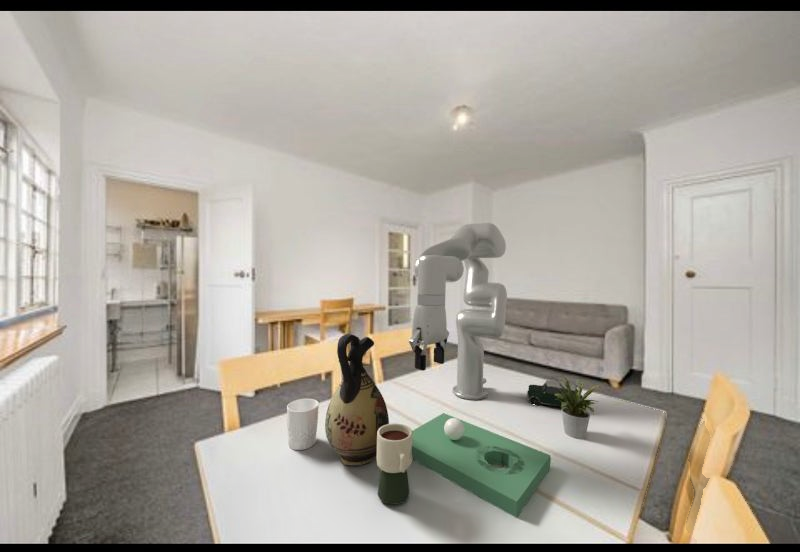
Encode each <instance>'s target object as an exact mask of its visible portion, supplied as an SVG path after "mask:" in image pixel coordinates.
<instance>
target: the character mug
mask: <svg viewBox="0 0 800 552" xmlns="http://www.w3.org/2000/svg"><path fill="white" fill-rule="evenodd" d="M412 431H413V430H412V429H411V428H410V427H409V426H407V425H405V424H401V423H389V424H387V425H383V426H382V427H380V428H379V429H378V431H377V457H376V466H377V467H378V468H379V470H380V475H379V481H378V487H377V488H378V489H377V496H378V499H379V500H380V501H382V502H383V503H384V504H391V505H394V504H402V503H406V501H407V500H408V499H409V497H410V496H409V495H410V483H409V475H408V468H409V467H410V466H411V465H412V462H413V459H412V444H413V443H412Z"/></svg>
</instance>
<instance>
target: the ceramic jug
mask: <svg viewBox="0 0 800 552" xmlns="http://www.w3.org/2000/svg"><path fill="white" fill-rule="evenodd" d="M348 345H350V347H349V348H350V349H349V351H347V348H348ZM374 346H375V341H374V340H373V339H372V338H370V337H368V336H365V337H363V338H361V339H360V337H359V336H356V335H355V334H353V333H352V334H351V333H345V334H344V335H341V336H340V337H339V339H338V342H337V346H336V347H337V349H336V351H337V352H336V354H337V359H338V363H339V365H340V370H341V374H342V376H343V377H342V380H341V381H340V383H339V384H338V386H337V387H336V389H335V391H334V393H333V395H332V397H331V398H330V400H329V403H328V407H327V410H326V412H325V413H326V414H325V423H324V426H325V428H324V429H325V435H326V439H327V442H328V443H329V446H330V447H331V448H332V449H333V450H334V452H335V453H336V454H338V456H339V460H340V462H341V463H342V464H343V465H346V466H361V465H366V464H369V463H371V462H372V461H374V460H375V459H377V431H378V429H379V428H380V427H382V426H383V425H387V424H390V419H389V412H388V408H387V405H386V401H385V399H384V396H383V395H382V393H381V391H380V390H379V388H378V386H377V384H376V382H375V381H374V380H373V379H372V377H371V375H369V374H368V372H367V370H366V368H365V367H364V364H363V358H364V355H366V353H367V351H369V350H370V349H371V348H373V347H374ZM347 352H348V353H347ZM347 354H348V355H347Z"/></svg>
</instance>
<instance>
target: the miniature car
mask: <svg viewBox="0 0 800 552" xmlns="http://www.w3.org/2000/svg"><path fill="white" fill-rule="evenodd" d="M558 381H559V382H560V384H561V385H562V386H563V387H564V388H565V389H566V390H567V391H568V389H567V387H566V386H565V383H564V381H560V380H558ZM558 381H557V380H556V379H554V380H553V379H551V380H549V379H548V380H545V382H544V384H542V385H540V384H539V385H538V384H529V385H528V390H527V391H526V399H527V400H529V403H530V404H531V405H532V404H535V405H537V406H539V405H540V404H544V405H549V406H553V407H554V406H555V407H560V408H563V407H566V406H567V405H566V406H563V407H561V404H562V402H565V401H564V400H563V399H560V398H557V397H558V396H555V394H561V395H562V396H564V395H565V397H566V398H567V400H568V402H569V403H570V401H569V399H568V397H567V395H566V393H565V392H564V390H563V388H562V387H561V386H560V384H559V382H558ZM555 384H558V385H555ZM569 385H570V388H571V391H572V394H573V392H575V388H576V385H575V384H573V383H570V382H569ZM552 386H554V387H552ZM557 387H558V388H559V389H561V391H562V392H563V393H564V395H563V394H562V392H561V391H560V390H559V389H558V388H557ZM578 389H579V388H577V389H576V392H577V390H578ZM578 392H579V390H578ZM568 393H569V392H568ZM582 397H583V395H582V394H581V396H580V400H581V399H582ZM556 399H558V400H556ZM580 400H579V401H580ZM561 401H562V402H561ZM578 403H579V402H578ZM535 405H534V406H535ZM567 407H568V406H567Z"/></svg>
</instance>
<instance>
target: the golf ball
mask: <svg viewBox="0 0 800 552" xmlns="http://www.w3.org/2000/svg"><path fill="white" fill-rule="evenodd" d="M456 418H457V417H455V418H451V419H449V420H447V421H446V423H445V425H444V431H445V434H446V436H447V437H448V438H450V439H451V440H458V439H460V438H461V437H462V436H463V434H464V426H463V424H462V422H461V421H460V420H461V419H460V420H458V419H459V418H457V419H456Z"/></svg>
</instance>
